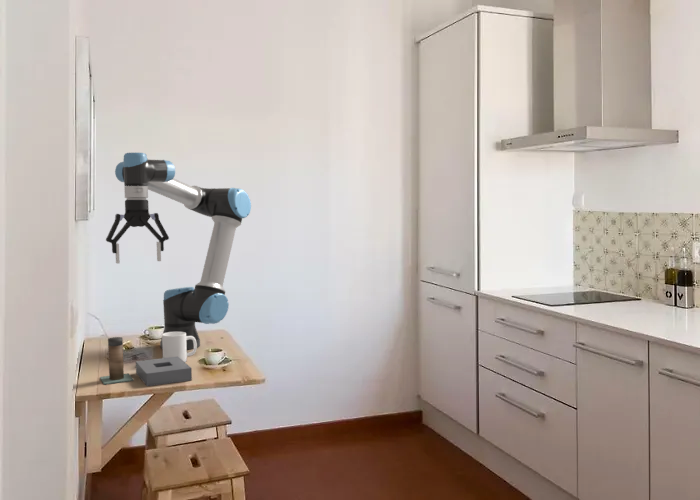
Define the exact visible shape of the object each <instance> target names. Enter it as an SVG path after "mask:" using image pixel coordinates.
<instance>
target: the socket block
mask: <svg viewBox="0 0 700 500" xmlns="http://www.w3.org/2000/svg"><path fill="white" fill-rule="evenodd" d="M135 374H136V375H137V376H138V377H139V379H140V380H141V381H142V382H143V383H144V384H145V386H146V387H151V386H158V385H165V384H166V385H167V384H173V383H182V382H188V381H189V382H190V381H192V379H193V378H192V367H191V366H190V365H188V364H187V363H186V362H184V361H183V360H181V359H180V358H179V357H178V356H177V357H169V358H163V357H161V358H154V359H152V358H151V359H145V360H144V359H143V360H136V361H135Z"/></svg>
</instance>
